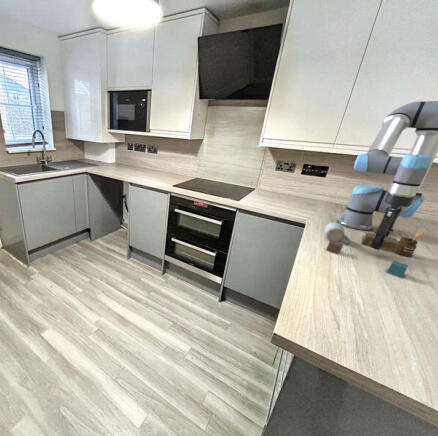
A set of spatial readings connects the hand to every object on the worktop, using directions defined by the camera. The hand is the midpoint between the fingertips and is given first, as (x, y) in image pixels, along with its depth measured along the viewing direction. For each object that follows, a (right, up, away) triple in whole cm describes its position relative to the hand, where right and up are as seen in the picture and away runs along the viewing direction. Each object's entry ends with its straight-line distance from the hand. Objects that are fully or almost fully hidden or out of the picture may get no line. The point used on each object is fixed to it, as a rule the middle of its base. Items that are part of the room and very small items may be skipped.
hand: (377, 246), depth 101 cm
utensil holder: (+15, -4, +4) cm, 16 cm away
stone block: (0, -1, 0) cm, 1 cm away
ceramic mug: (-7, +1, +14) cm, 16 cm away
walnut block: (-17, -2, +3) cm, 17 cm away
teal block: (-5, -9, -12) cm, 16 cm away
